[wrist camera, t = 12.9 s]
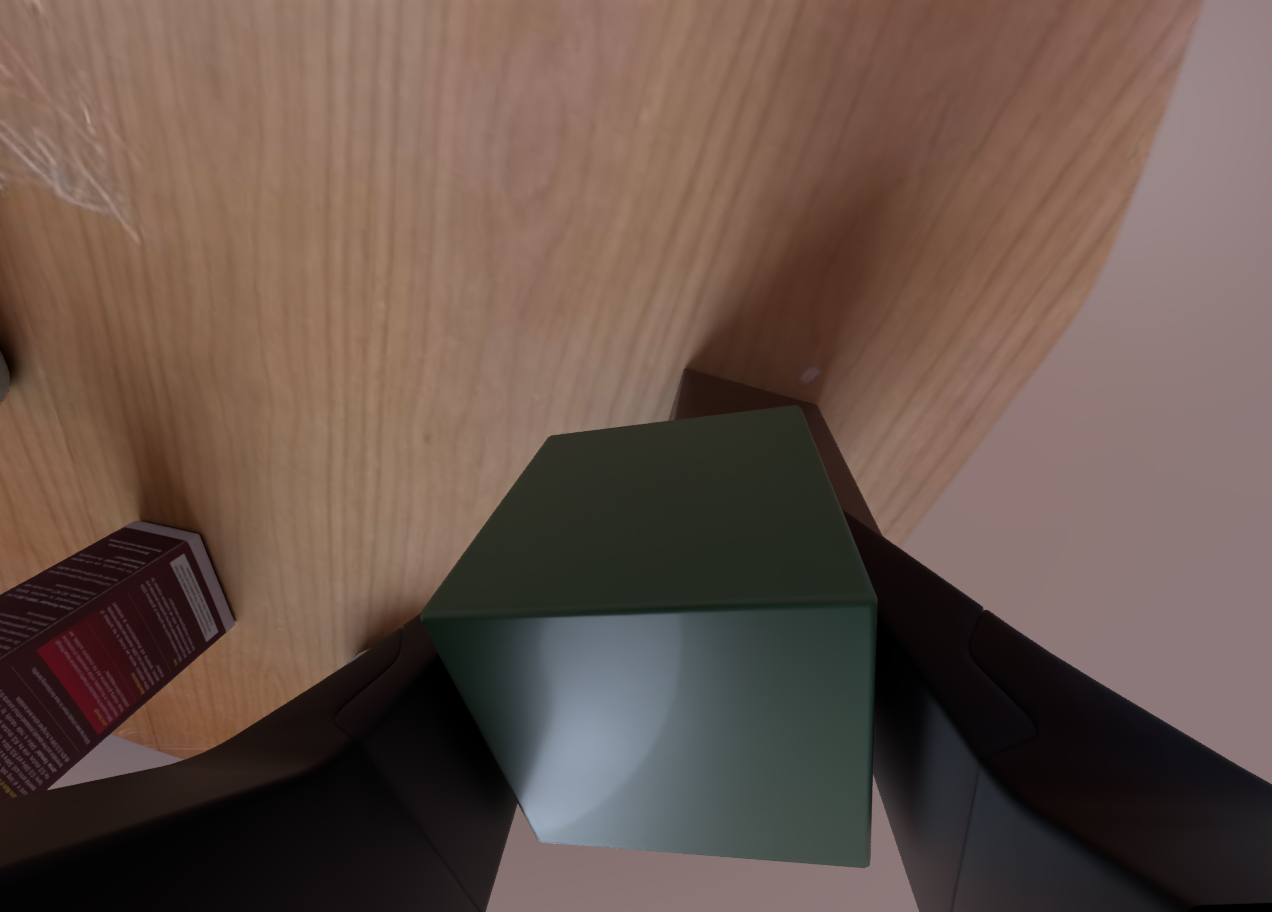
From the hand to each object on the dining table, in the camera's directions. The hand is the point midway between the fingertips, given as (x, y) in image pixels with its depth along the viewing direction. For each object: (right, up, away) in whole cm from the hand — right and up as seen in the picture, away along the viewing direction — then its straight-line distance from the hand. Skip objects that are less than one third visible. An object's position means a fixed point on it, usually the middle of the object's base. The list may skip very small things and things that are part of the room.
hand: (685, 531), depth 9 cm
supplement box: (-31, -7, +24) cm, 40 cm away
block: (0, 0, 0) cm, 0 cm away
